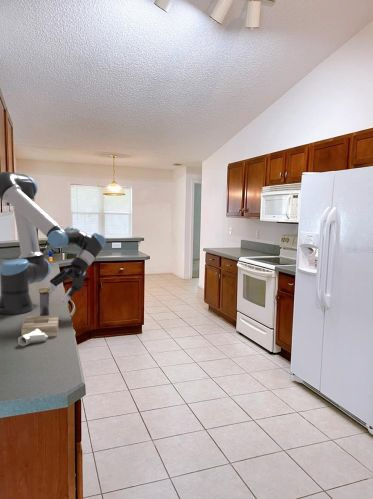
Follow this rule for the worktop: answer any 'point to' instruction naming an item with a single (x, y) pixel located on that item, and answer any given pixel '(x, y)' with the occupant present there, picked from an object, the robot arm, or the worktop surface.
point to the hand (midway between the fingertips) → (53, 299)
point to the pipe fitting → (32, 337)
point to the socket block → (41, 324)
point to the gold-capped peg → (44, 301)
